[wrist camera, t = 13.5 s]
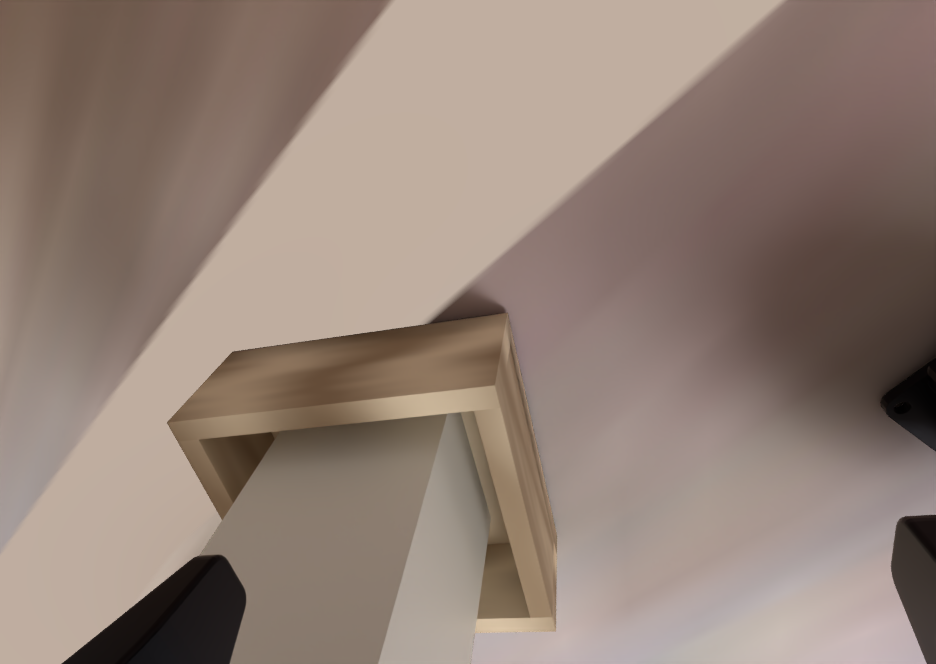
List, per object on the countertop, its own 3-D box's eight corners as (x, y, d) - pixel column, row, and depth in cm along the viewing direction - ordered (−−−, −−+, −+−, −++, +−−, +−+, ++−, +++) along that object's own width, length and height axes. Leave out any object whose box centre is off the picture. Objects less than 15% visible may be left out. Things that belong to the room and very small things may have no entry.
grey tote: (453, 390, 22) (353, 753, 11) (490, 517, 25) (438, 900, 14) (295, 408, 23) (77, 743, 13) (347, 526, 26) (204, 879, 16)
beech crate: (507, 312, 21) (494, 385, 17) (556, 535, 26) (555, 631, 22) (232, 351, 23) (166, 422, 20) (325, 548, 28) (288, 635, 25)
